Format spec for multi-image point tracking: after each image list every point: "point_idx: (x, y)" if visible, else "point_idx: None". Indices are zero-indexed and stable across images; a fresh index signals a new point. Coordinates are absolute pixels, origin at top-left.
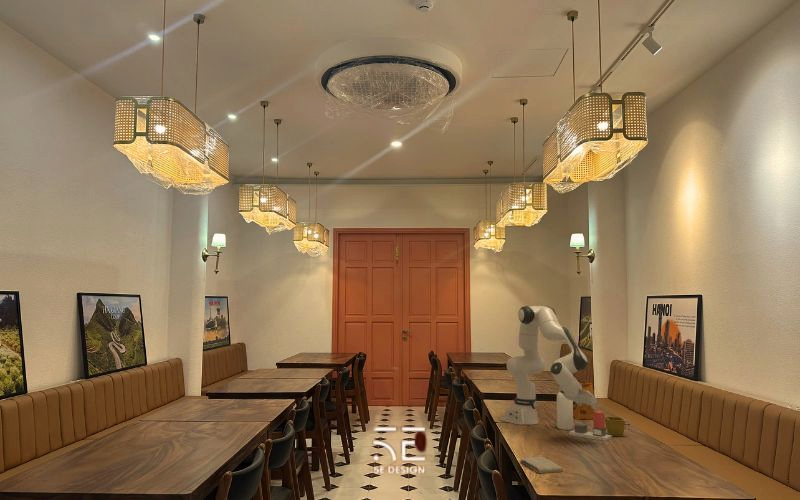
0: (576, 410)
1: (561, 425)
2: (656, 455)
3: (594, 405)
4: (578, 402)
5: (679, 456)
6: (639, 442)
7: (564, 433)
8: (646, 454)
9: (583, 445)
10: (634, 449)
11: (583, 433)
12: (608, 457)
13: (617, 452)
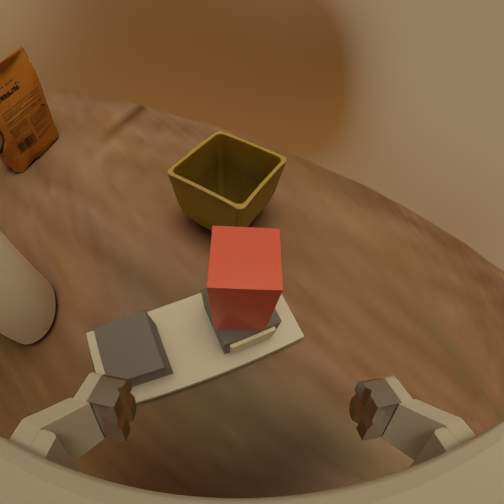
0: (8, 153)
1: (23, 340)
2: (485, 313)
3: (404, 393)
4: (96, 426)
5: (488, 263)
6: (356, 230)
7: None
8: (478, 335)
9: None
10: (434, 327)
11: (172, 373)
12: None
13: None
